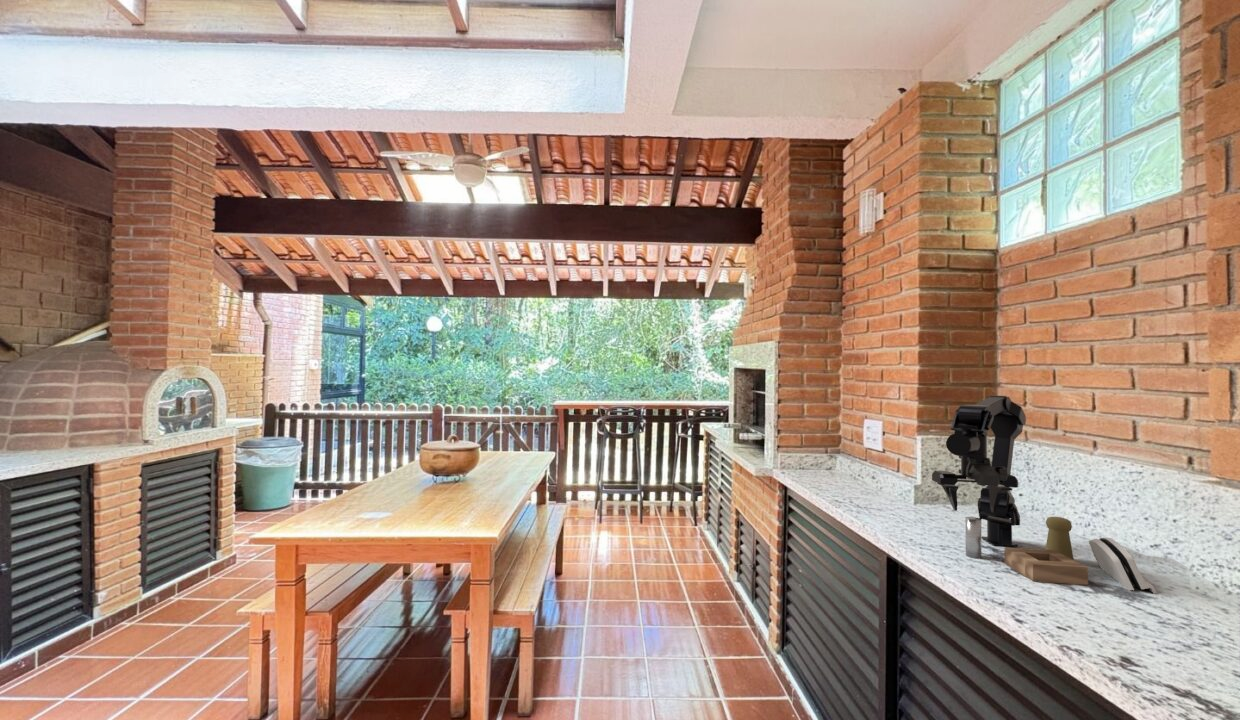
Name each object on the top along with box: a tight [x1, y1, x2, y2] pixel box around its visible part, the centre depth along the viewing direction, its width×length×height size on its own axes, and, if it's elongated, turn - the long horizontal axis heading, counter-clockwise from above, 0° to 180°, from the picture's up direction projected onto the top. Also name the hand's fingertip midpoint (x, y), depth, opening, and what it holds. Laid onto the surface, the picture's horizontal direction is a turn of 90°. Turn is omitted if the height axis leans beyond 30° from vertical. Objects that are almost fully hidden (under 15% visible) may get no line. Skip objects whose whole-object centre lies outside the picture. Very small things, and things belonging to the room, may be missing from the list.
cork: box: [1044, 516, 1075, 561], centre depth 136 cm, size 6×6×11 cm
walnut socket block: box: [1003, 547, 1089, 586], centre depth 127 cm, size 12×12×4 cm
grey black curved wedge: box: [1088, 537, 1158, 595], centre depth 124 cm, size 17×5×10 cm, turn 154°
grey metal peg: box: [965, 516, 983, 560], centre depth 138 cm, size 4×4×10 cm
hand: (974, 511), depth 138 cm, fingers open, 9 cm apart
